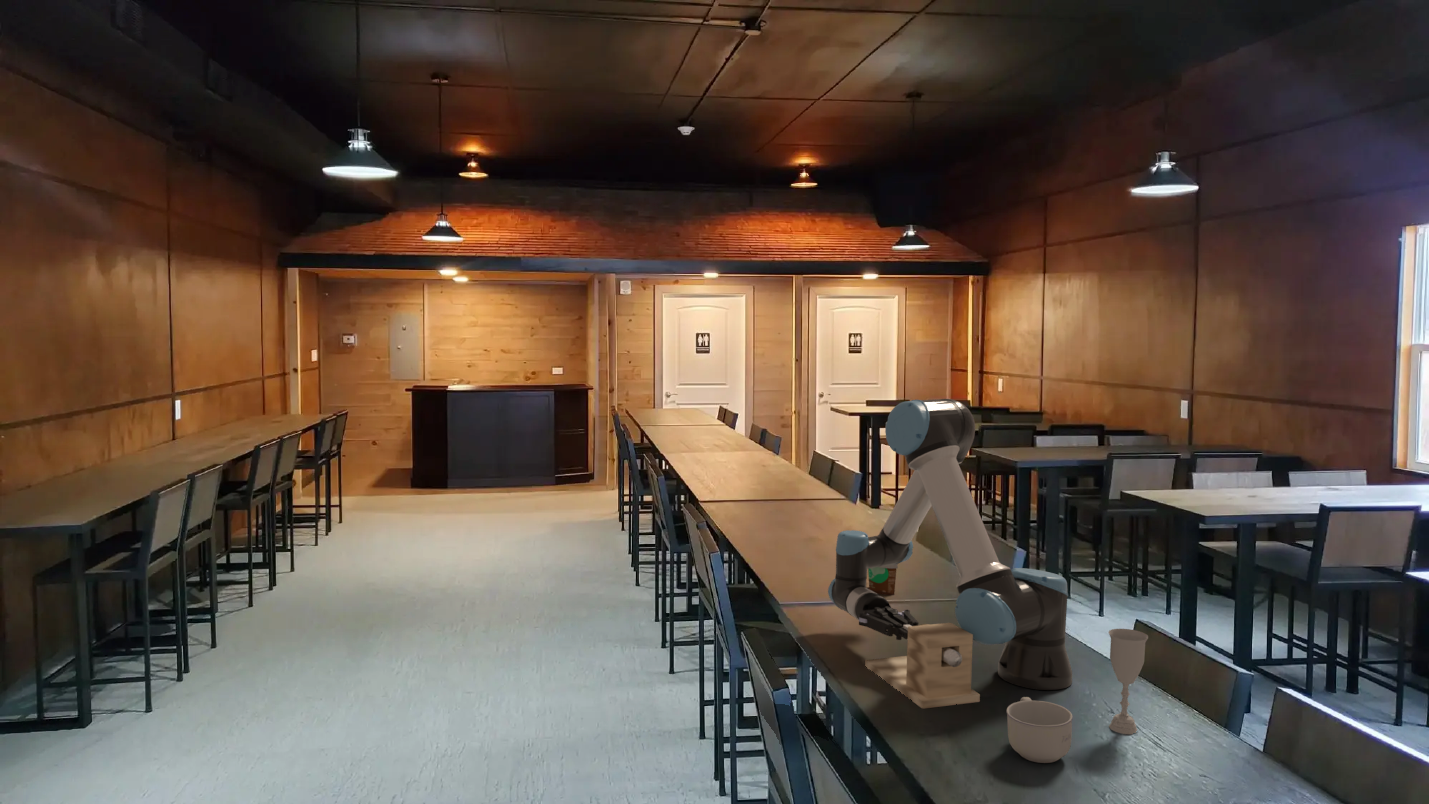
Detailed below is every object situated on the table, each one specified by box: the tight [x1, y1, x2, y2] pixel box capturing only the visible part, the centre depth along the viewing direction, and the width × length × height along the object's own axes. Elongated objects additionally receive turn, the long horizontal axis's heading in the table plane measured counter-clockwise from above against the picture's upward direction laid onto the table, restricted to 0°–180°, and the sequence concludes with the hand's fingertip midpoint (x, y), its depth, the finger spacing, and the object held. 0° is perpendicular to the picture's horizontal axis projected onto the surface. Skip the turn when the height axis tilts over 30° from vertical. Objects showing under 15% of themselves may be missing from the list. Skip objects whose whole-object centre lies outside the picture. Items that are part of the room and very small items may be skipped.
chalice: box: [1107, 628, 1149, 735], centre depth 174 cm, size 7×7×18 cm
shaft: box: [918, 623, 962, 667], centre depth 189 cm, size 12×7×7 cm, turn 18°
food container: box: [867, 564, 899, 596], centre depth 266 cm, size 12×6×10 cm, turn 17°
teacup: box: [1006, 696, 1073, 764], centre depth 164 cm, size 14×11×8 cm
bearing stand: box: [864, 622, 981, 709], centre depth 195 cm, size 24×13×14 cm, turn 18°
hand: (921, 640), depth 194 cm, fingers closed
